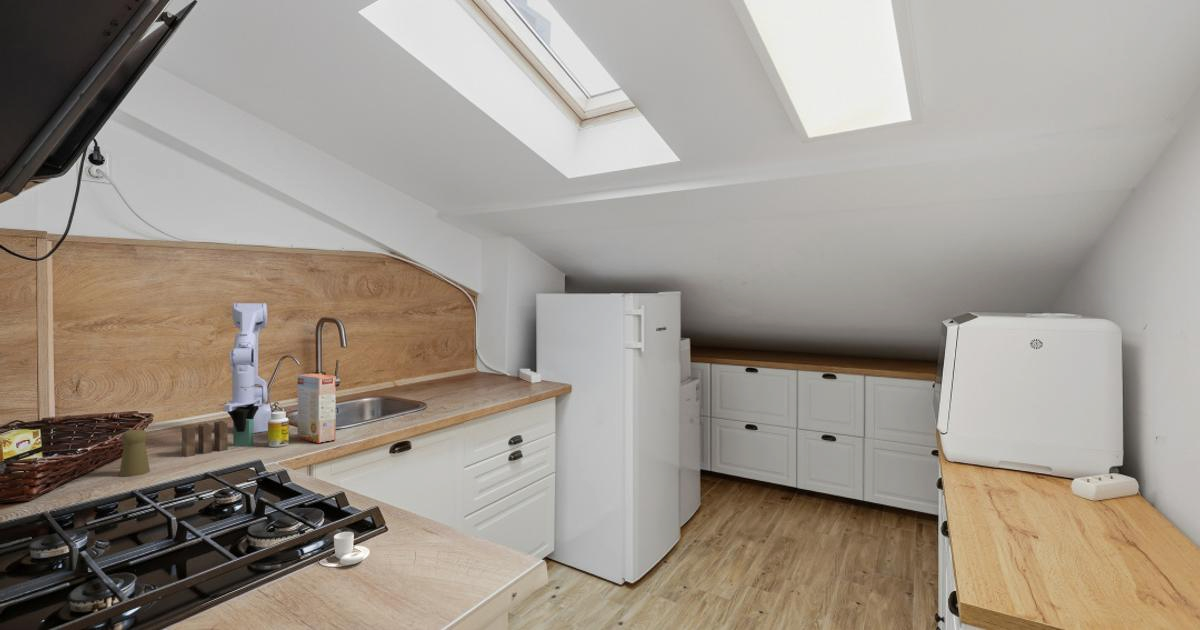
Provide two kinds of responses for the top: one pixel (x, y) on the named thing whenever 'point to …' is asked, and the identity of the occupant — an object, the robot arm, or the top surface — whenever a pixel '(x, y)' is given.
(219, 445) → the domino
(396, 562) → the top surface
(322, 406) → the cracker box
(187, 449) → the domino
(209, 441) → the domino
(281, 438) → the supplement bottle
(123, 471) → the olive green pepper mill
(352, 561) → the teacup and saucer
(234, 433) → the domino head
